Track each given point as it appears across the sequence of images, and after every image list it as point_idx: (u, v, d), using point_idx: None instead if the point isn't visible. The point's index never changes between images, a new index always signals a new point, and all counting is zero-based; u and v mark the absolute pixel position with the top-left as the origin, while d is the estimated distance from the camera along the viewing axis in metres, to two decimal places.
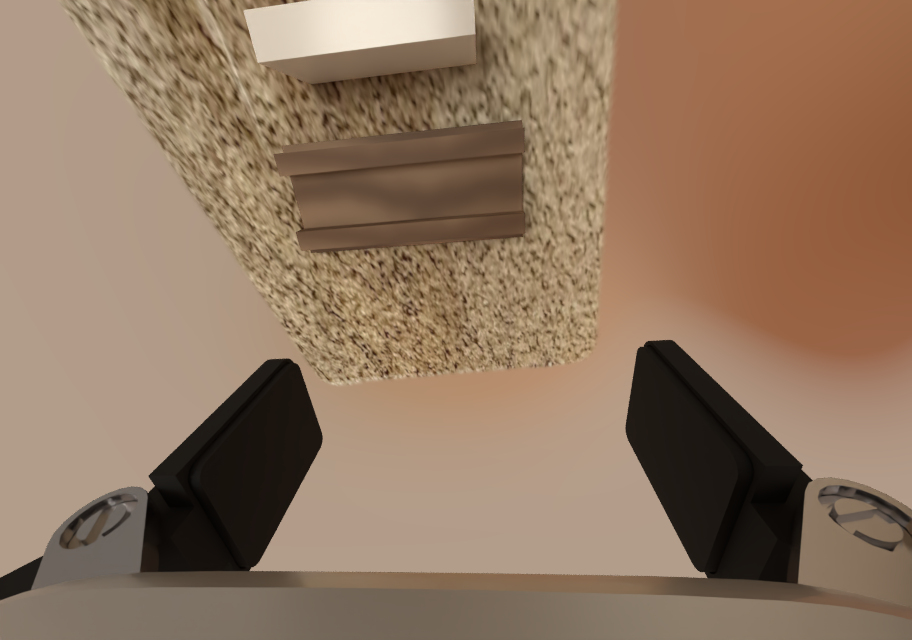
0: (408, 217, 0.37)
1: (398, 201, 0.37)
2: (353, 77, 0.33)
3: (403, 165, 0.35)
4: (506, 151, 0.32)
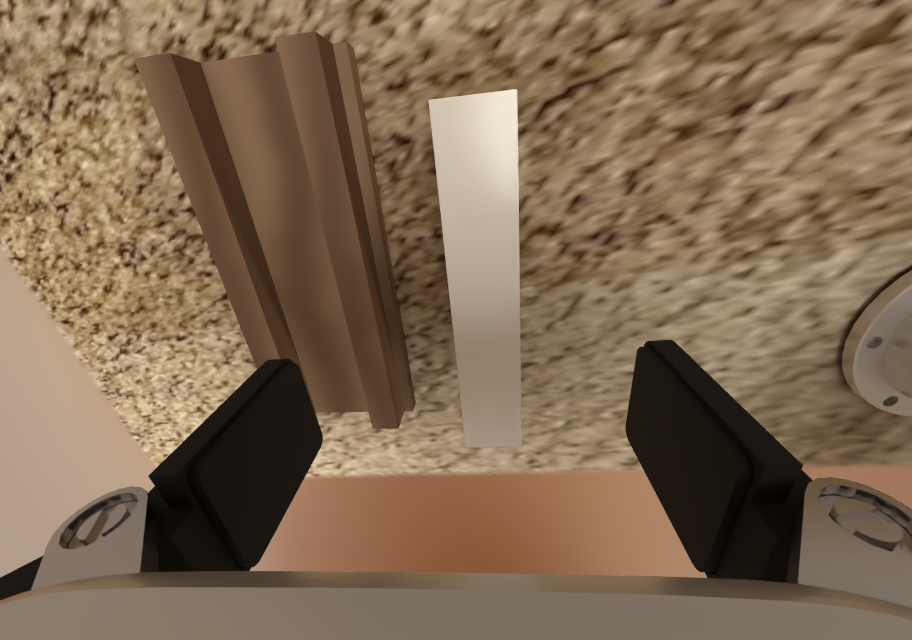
0: (273, 272, 0.24)
1: (293, 259, 0.23)
2: None
3: None
4: (371, 411, 0.26)
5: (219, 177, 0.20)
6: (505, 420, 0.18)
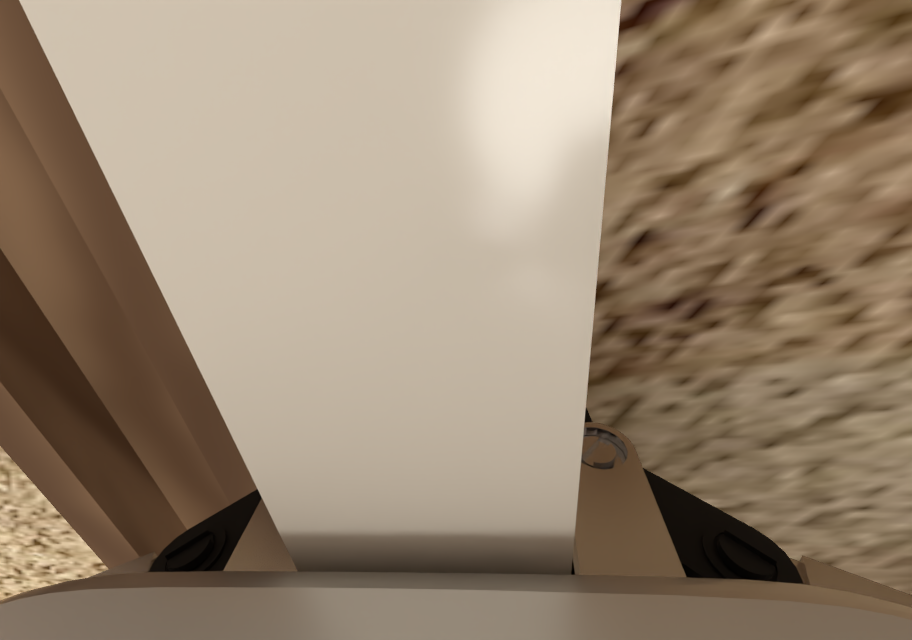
0: (84, 367, 0.13)
1: (114, 345, 0.13)
2: None
3: None
4: None
5: None
6: None
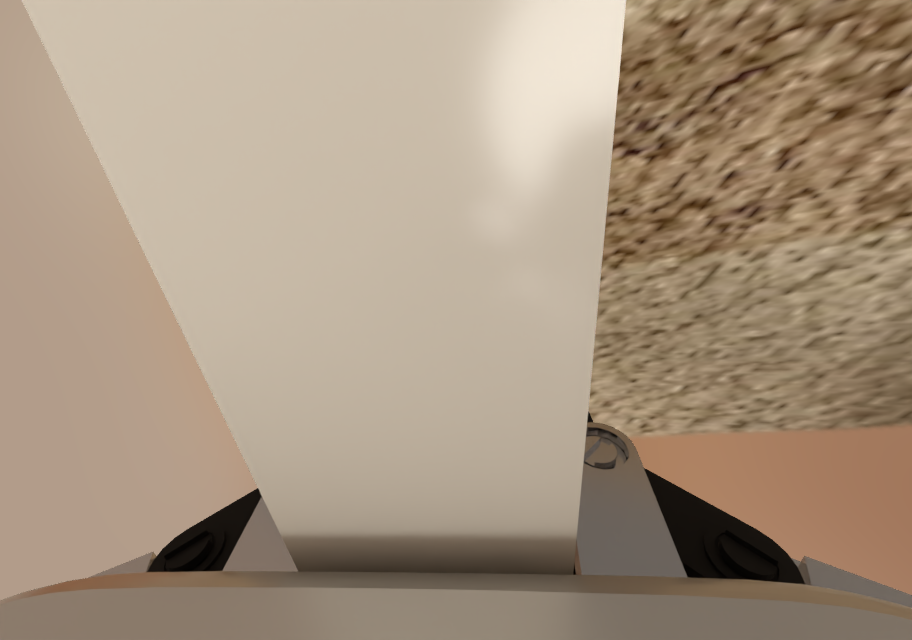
0: None
1: None
2: None
3: None
4: None
5: None
6: None
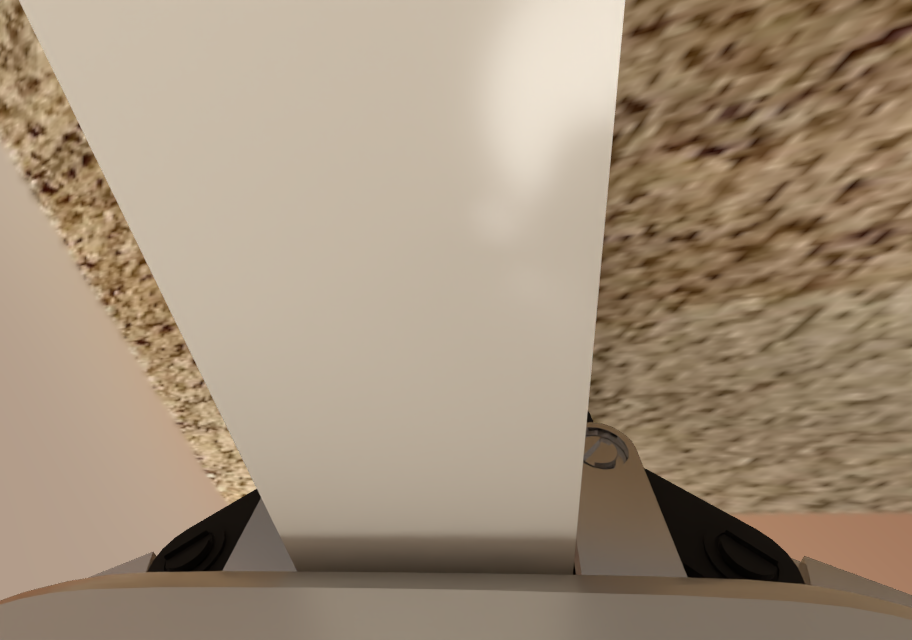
0: None
1: None
2: None
3: None
4: None
5: None
6: None
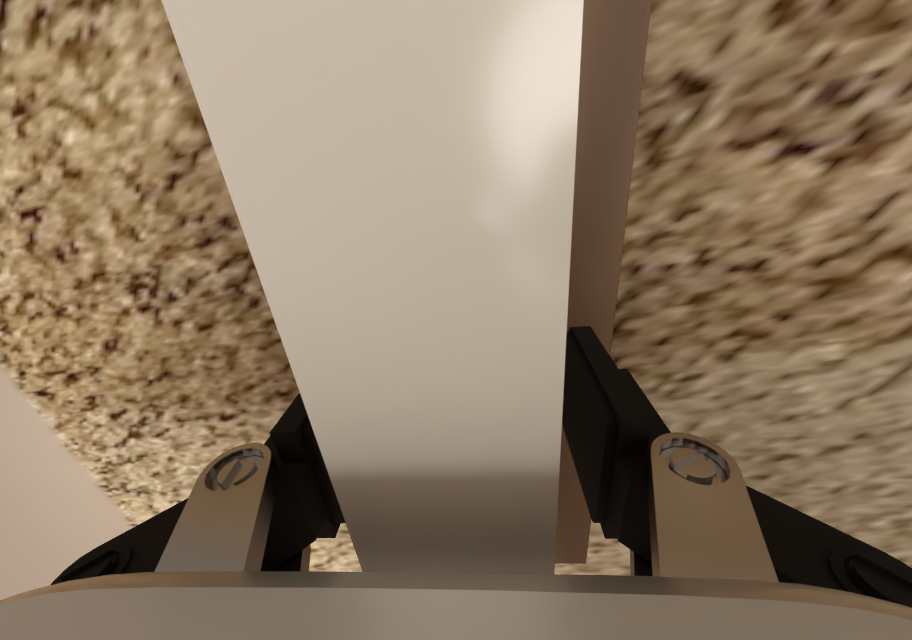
0: None
1: None
2: None
3: None
4: None
5: None
6: None
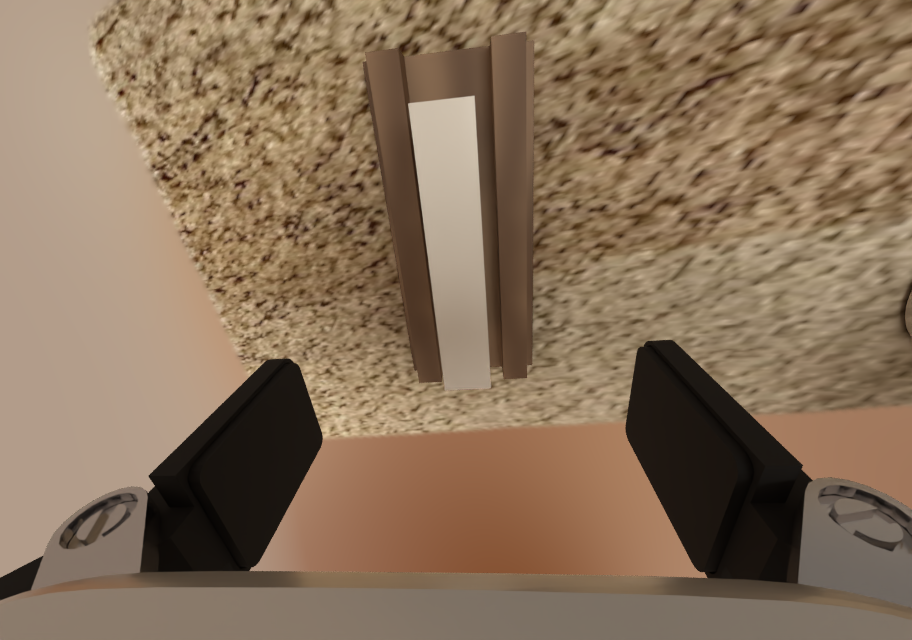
0: None
1: None
2: None
3: (495, 238, 0.27)
4: (505, 362, 0.30)
5: (412, 154, 0.23)
6: (476, 365, 0.22)
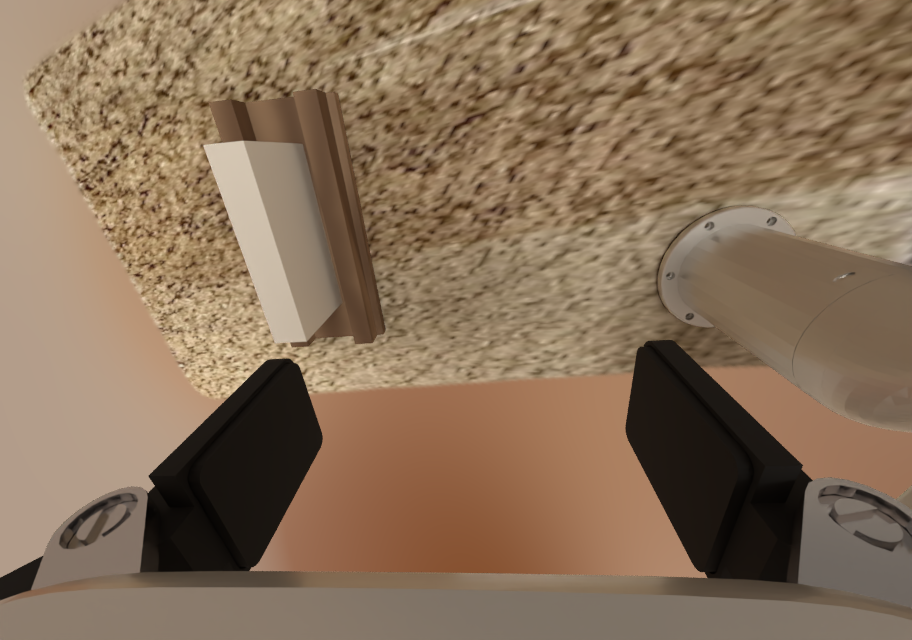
0: None
1: None
2: None
3: None
4: (353, 330, 0.38)
5: None
6: (292, 323, 0.30)
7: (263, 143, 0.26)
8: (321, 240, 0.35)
